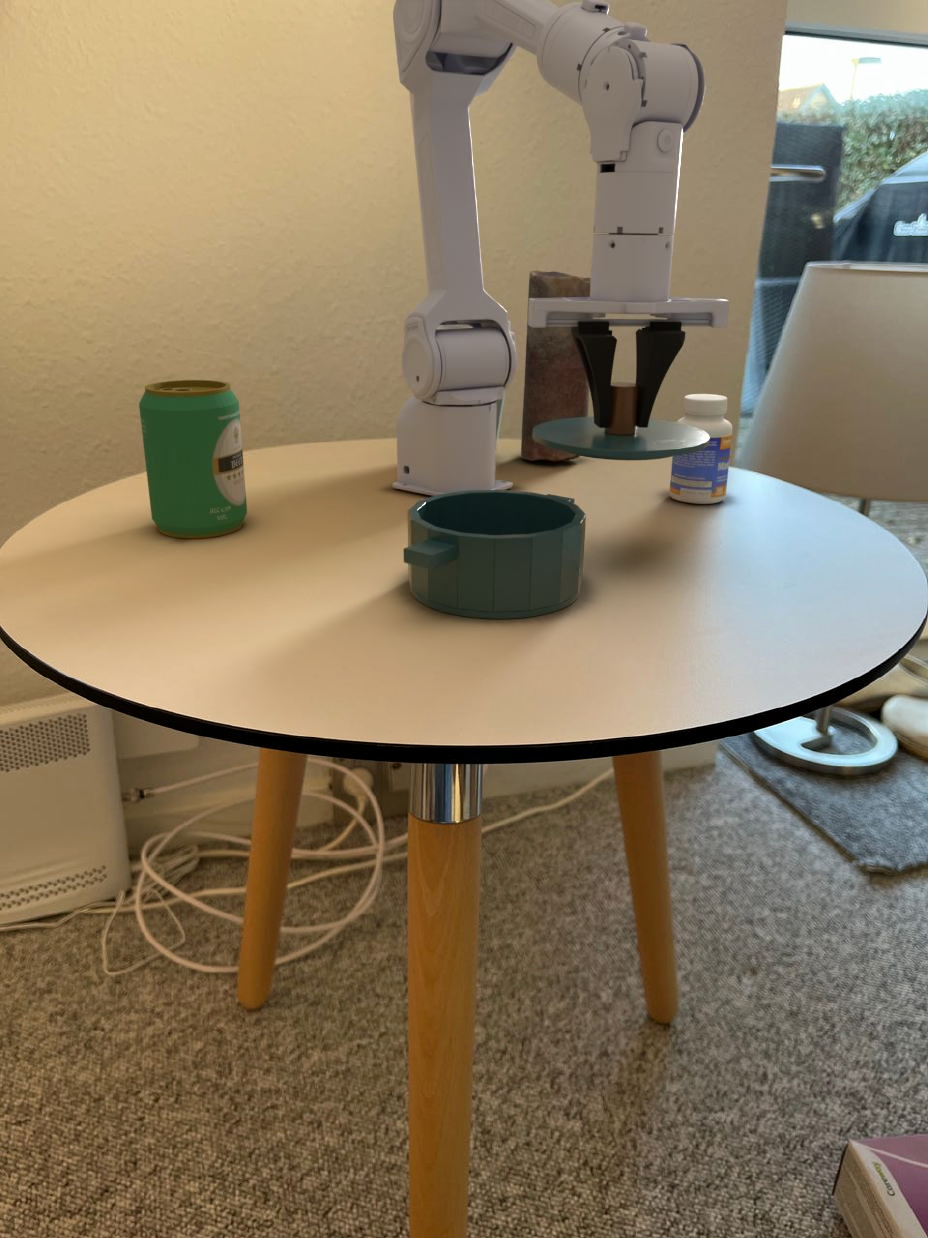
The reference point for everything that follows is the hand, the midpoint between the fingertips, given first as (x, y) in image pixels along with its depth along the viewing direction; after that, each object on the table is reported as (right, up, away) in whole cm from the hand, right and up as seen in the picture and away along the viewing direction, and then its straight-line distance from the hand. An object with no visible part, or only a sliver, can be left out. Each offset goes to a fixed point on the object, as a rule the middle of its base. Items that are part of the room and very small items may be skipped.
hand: (620, 425), depth 75 cm
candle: (-2, +3, +36) cm, 36 cm away
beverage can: (-35, -7, +10) cm, 37 cm away
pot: (-10, -13, -3) cm, 16 cm away
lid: (0, -1, 0) cm, 1 cm away
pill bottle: (+11, -3, +21) cm, 23 cm away
